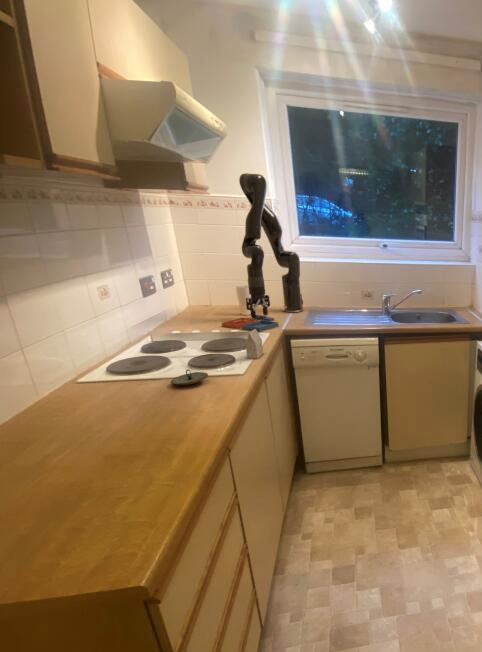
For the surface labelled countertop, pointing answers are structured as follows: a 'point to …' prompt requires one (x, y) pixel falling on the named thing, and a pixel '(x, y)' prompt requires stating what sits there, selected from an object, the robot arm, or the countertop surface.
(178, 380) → the lid
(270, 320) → the slate spoon
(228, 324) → the terracotta tray
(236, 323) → the terracotta spoon
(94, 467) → the countertop surface
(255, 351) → the grey stone block
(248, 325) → the slate tray
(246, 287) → the drinking glass
